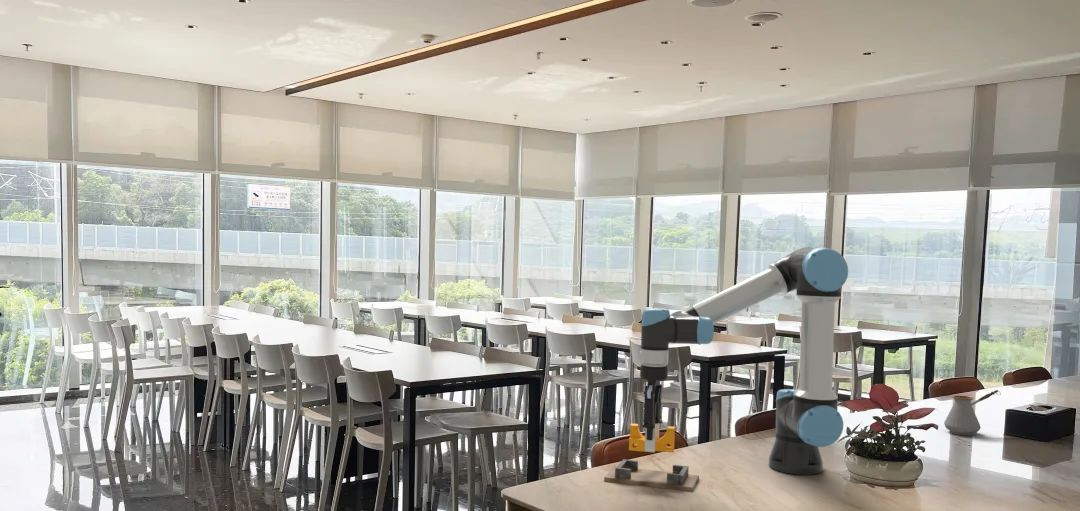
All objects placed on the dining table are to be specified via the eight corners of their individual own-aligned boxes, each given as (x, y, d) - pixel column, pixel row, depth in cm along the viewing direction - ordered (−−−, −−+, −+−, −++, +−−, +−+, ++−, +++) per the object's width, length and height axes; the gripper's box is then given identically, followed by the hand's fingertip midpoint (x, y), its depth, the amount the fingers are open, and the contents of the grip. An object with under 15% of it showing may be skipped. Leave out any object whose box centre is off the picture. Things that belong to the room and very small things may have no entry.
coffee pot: (960, 437, 275) (961, 394, 275) (936, 430, 286) (937, 388, 286) (1011, 435, 280) (1012, 392, 280) (985, 427, 292) (986, 387, 291)
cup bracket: (698, 478, 220) (699, 466, 220) (692, 491, 208) (692, 478, 208) (614, 469, 228) (614, 457, 228) (604, 480, 216) (604, 468, 216)
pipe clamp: (628, 450, 217) (629, 426, 217) (630, 446, 221) (631, 423, 221) (673, 453, 214) (673, 430, 214) (674, 450, 219) (674, 426, 219)
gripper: (647, 359, 227) (644, 440, 227) (633, 367, 210) (631, 455, 211) (673, 361, 225) (670, 443, 225) (661, 370, 208) (659, 458, 208)
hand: (651, 449), depth 218 cm, fingers closed on pipe clamp, 5 cm apart
